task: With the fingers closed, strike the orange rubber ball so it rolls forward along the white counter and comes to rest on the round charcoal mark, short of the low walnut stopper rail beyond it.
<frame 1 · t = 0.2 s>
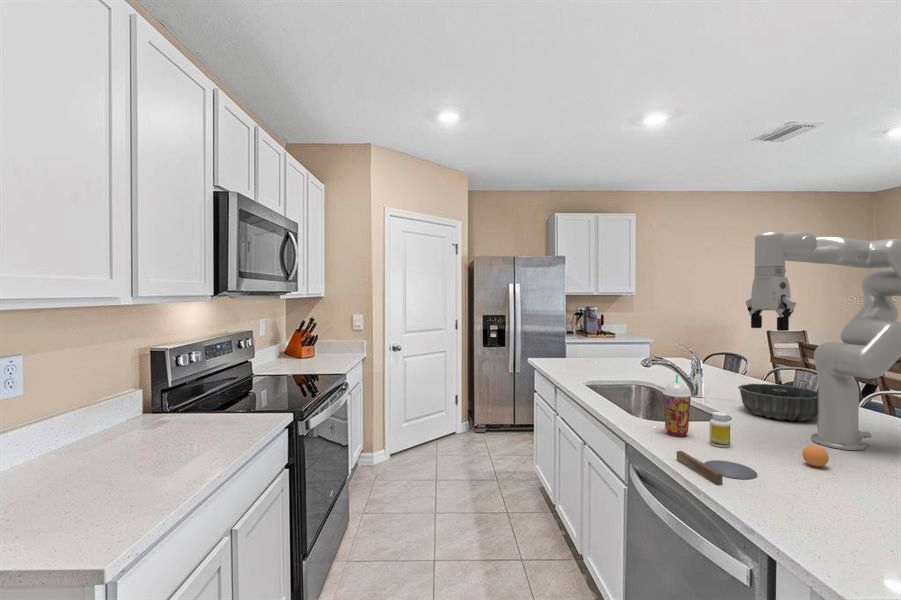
hand: (769, 329, 131), 36 cm above the table, tool pointing down, fingers open, 9 cm apart
ball: (815, 455, 117), on the table
stopper rail: (697, 471, 114), on the table
bundt pan: (778, 416, 166), on the table
supplement bottle: (719, 445, 134), on the table
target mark: (729, 469, 115), on the table
smoothie: (676, 434, 144), on the table
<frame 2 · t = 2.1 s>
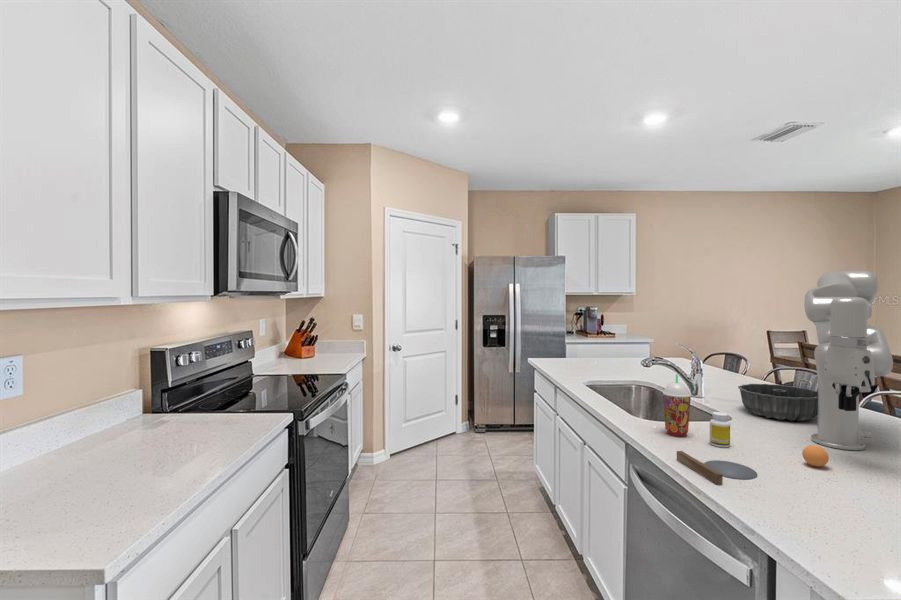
hand: (847, 409, 118), 15 cm above the table, tool pointing down, fingers closed
nothing on the table moved.
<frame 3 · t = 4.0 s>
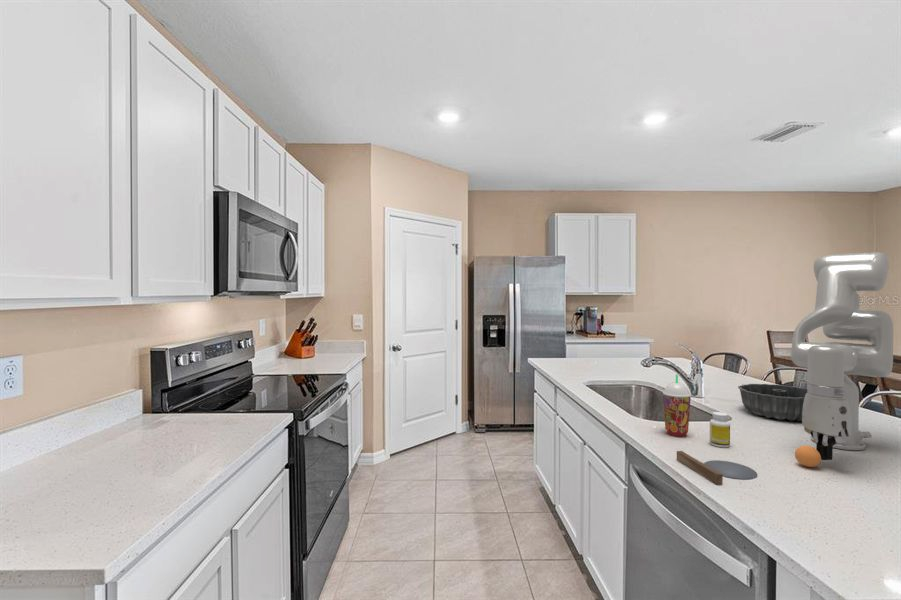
hand: (824, 458, 117), 2 cm above the table, tool pointing down, fingers closed
ball: (807, 456, 117), on the table
everything else where it was.
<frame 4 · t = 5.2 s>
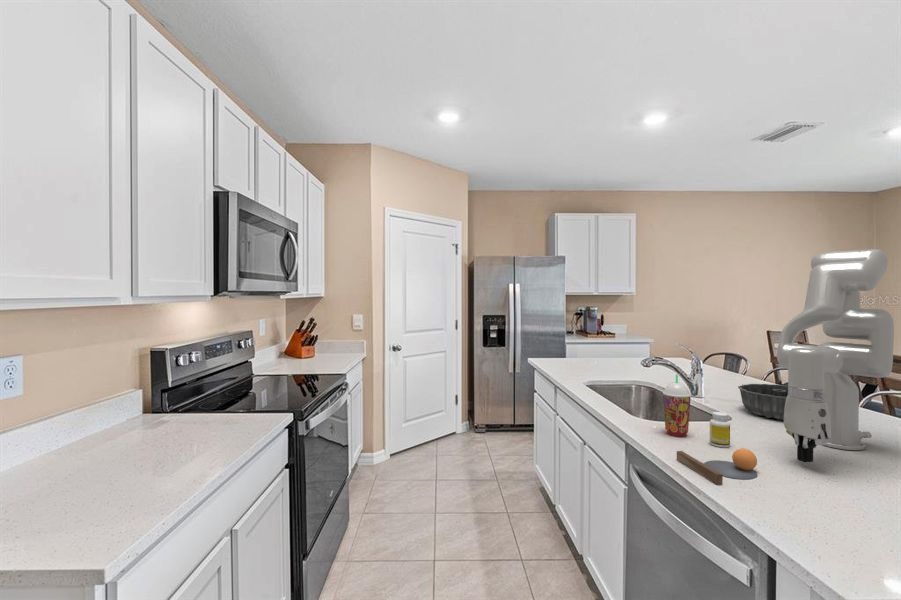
hand: (805, 460, 117), 2 cm above the table, tool pointing down, fingers closed
ball: (744, 459, 115), on the table
everything else where it was.
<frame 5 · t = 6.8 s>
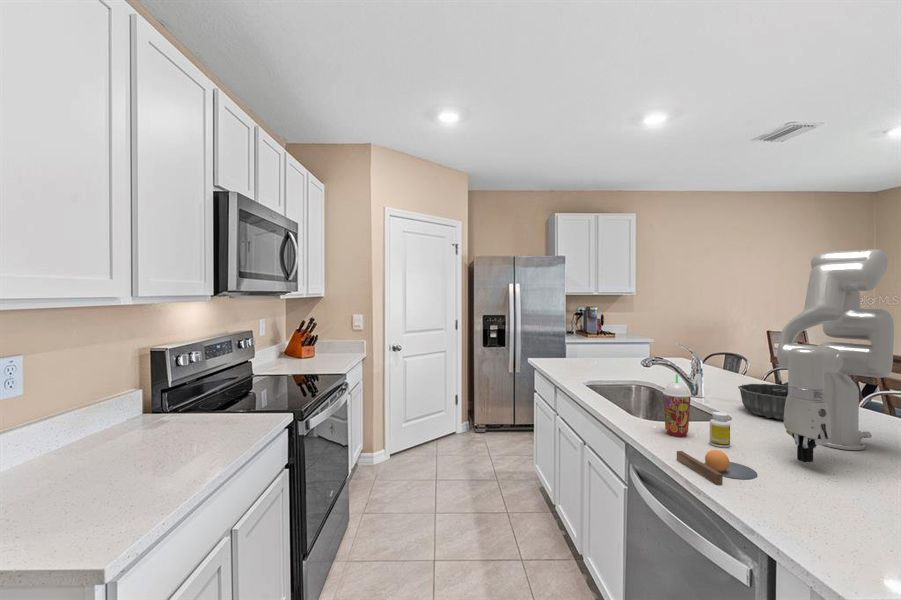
hand: (805, 460, 117), 2 cm above the table, tool pointing down, fingers closed
ball: (717, 460, 114), on the table
everything else where it was.
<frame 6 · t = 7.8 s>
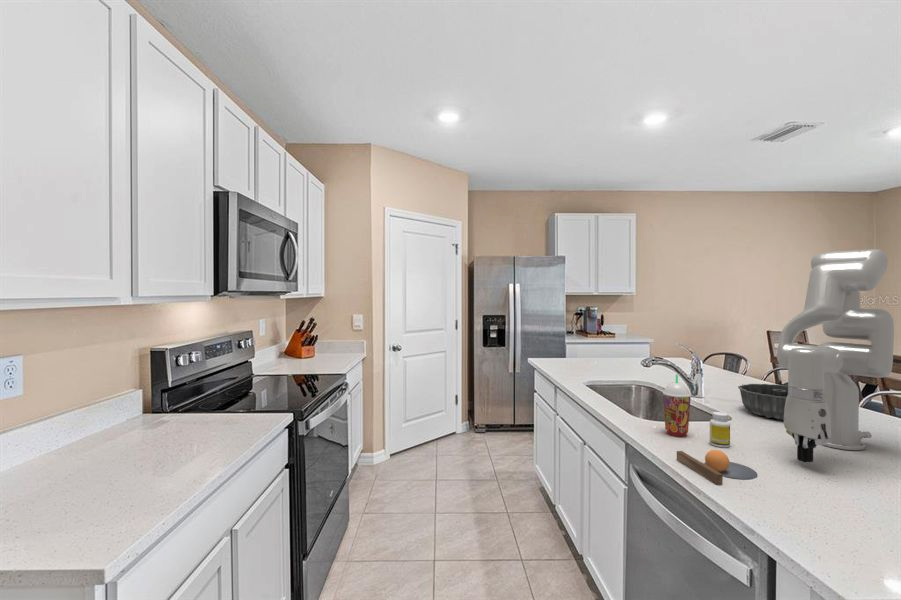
hand: (805, 460, 117), 2 cm above the table, tool pointing down, fingers closed
nothing on the table moved.
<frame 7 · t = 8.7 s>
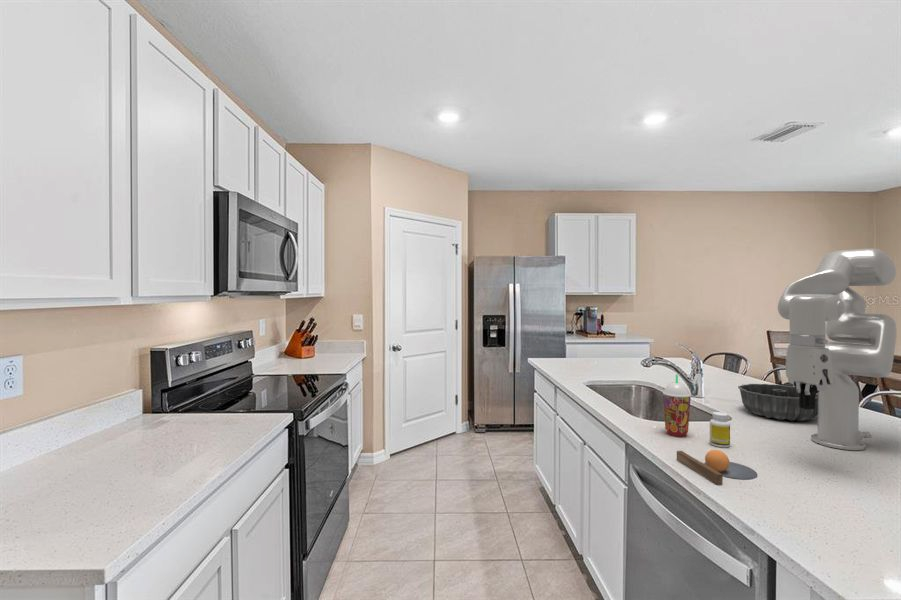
hand: (807, 408, 117), 16 cm above the table, tool pointing down, fingers closed
nothing on the table moved.
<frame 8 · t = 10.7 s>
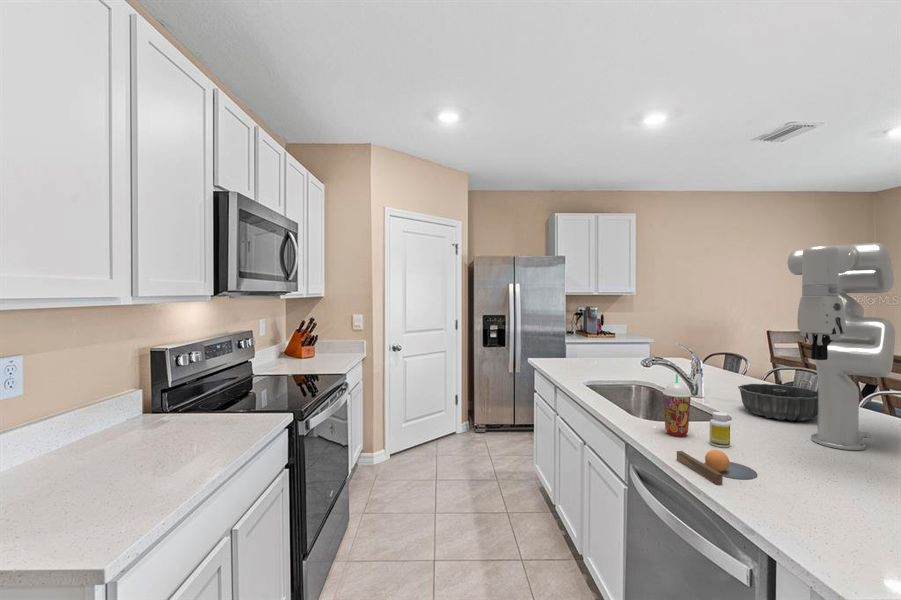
hand: (819, 359, 117), 29 cm above the table, tool pointing down, fingers closed
nothing on the table moved.
at the end: ball 3.9 cm from the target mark (horizontally); ball at rest at the end (0.0 cm/s); ball moved 28.9 cm from its start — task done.
